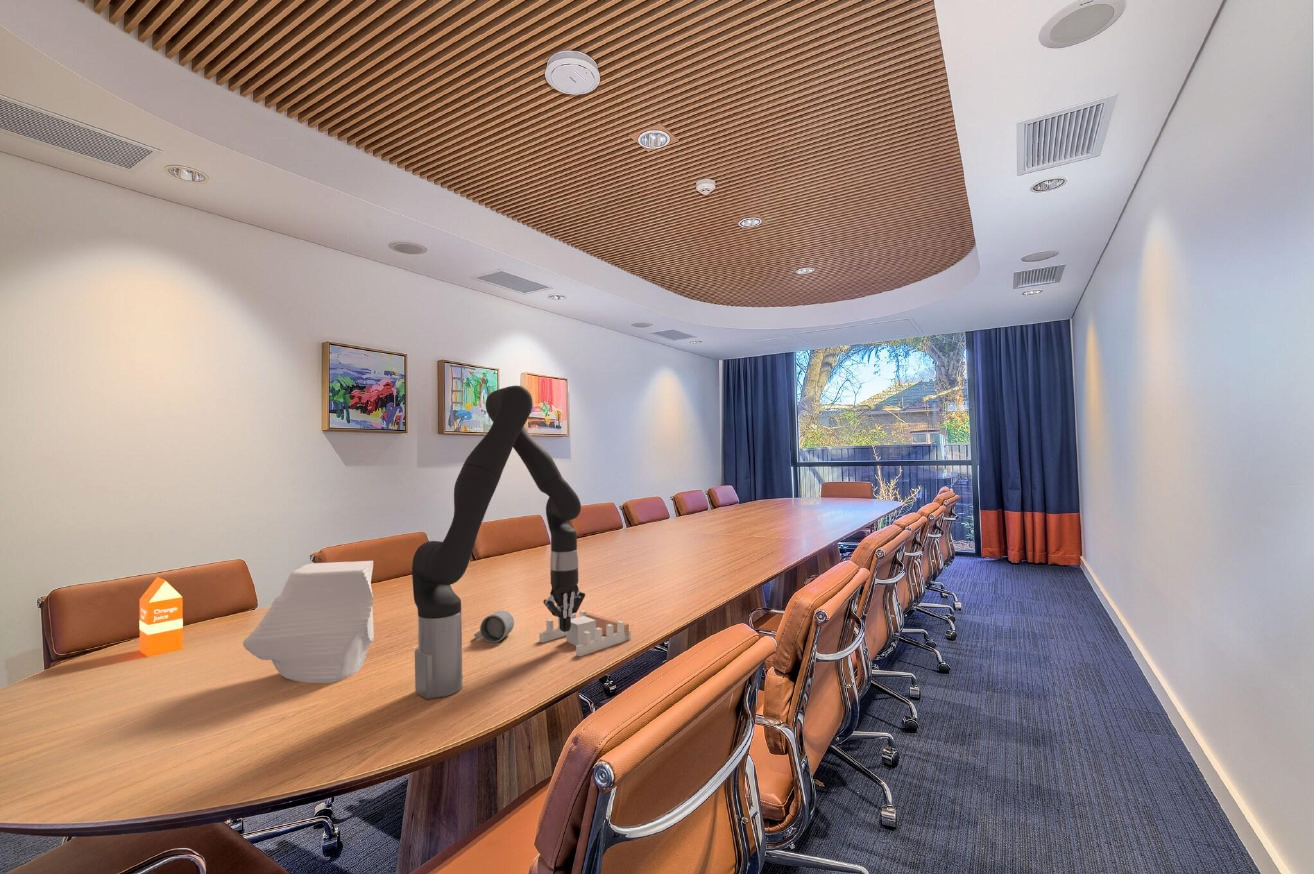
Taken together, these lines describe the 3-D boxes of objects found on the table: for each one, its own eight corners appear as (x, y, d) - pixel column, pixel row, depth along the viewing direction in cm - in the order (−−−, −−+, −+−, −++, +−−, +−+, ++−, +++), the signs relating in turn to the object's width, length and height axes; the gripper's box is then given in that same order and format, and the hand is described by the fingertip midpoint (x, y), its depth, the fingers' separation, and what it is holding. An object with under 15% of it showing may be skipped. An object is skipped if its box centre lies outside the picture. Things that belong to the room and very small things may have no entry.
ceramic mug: (516, 634, 171) (515, 607, 171) (506, 643, 163) (505, 615, 163) (481, 634, 172) (480, 608, 173) (469, 643, 164) (468, 615, 164)
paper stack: (358, 684, 136) (356, 573, 137) (239, 688, 135) (238, 577, 136) (395, 652, 157) (393, 556, 158) (292, 656, 156) (291, 559, 157)
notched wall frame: (580, 656, 151) (579, 635, 151) (539, 641, 164) (539, 622, 164) (630, 639, 164) (630, 619, 164) (589, 626, 177) (589, 608, 177)
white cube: (596, 642, 163) (595, 620, 163) (578, 647, 159) (577, 624, 159) (584, 636, 168) (584, 615, 168) (566, 641, 164) (565, 620, 164)
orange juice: (147, 657, 158) (147, 582, 159) (139, 650, 163) (138, 579, 164) (183, 649, 164) (183, 577, 165) (174, 643, 170) (174, 574, 170)
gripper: (552, 572, 152) (553, 639, 152) (591, 564, 162) (592, 628, 161) (535, 568, 157) (536, 633, 157) (575, 561, 167) (576, 622, 167)
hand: (565, 630), depth 159 cm, fingers closed
